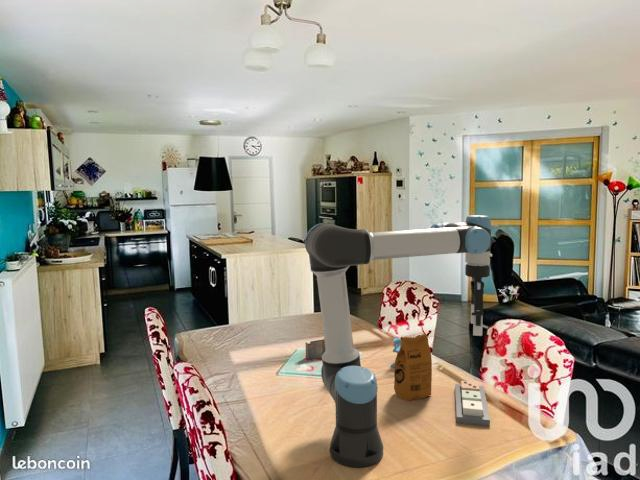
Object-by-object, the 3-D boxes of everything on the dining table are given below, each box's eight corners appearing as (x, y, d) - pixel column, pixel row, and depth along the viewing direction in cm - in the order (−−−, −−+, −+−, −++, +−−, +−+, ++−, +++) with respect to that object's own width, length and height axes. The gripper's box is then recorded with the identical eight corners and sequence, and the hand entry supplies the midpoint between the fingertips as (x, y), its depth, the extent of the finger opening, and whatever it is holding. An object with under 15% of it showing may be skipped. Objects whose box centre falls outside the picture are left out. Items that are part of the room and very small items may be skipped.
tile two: (480, 406, 161) (481, 398, 160) (462, 404, 162) (462, 396, 162) (479, 398, 166) (479, 390, 166) (461, 396, 168) (461, 389, 168)
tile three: (479, 395, 168) (479, 388, 168) (461, 394, 170) (461, 386, 169) (478, 388, 174) (478, 381, 174) (460, 387, 176) (461, 380, 175)
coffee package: (390, 391, 177) (390, 333, 174) (420, 386, 181) (420, 329, 178) (404, 403, 167) (404, 341, 165) (434, 397, 172) (435, 337, 169)
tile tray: (489, 426, 151) (489, 420, 150) (456, 422, 153) (456, 416, 153) (483, 391, 176) (483, 386, 175) (455, 389, 178) (455, 383, 178)
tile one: (482, 417, 153) (482, 409, 153) (463, 415, 154) (463, 407, 154) (481, 408, 159) (481, 401, 158) (462, 407, 160) (462, 399, 160)
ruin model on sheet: (328, 354, 218) (328, 333, 217) (331, 356, 215) (331, 335, 214) (305, 358, 213) (305, 337, 212) (308, 360, 210) (307, 339, 209)
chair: (413, 363, 205) (414, 335, 203) (408, 369, 197) (409, 341, 196) (396, 360, 208) (396, 333, 207) (390, 367, 200) (390, 339, 199)
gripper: (494, 270, 141) (492, 341, 144) (486, 258, 165) (485, 319, 167) (467, 270, 143) (465, 340, 145) (463, 257, 166) (462, 318, 169)
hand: (476, 329), depth 156 cm, fingers open, 12 cm apart
